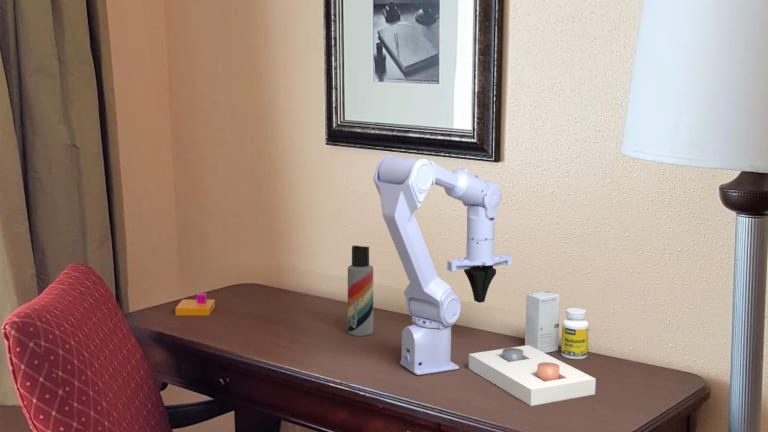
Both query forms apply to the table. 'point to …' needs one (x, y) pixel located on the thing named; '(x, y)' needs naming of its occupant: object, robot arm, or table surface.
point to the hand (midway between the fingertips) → (479, 301)
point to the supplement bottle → (575, 334)
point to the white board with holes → (531, 376)
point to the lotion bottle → (360, 293)
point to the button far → (512, 354)
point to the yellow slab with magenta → (196, 306)
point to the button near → (547, 371)
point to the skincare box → (542, 321)
